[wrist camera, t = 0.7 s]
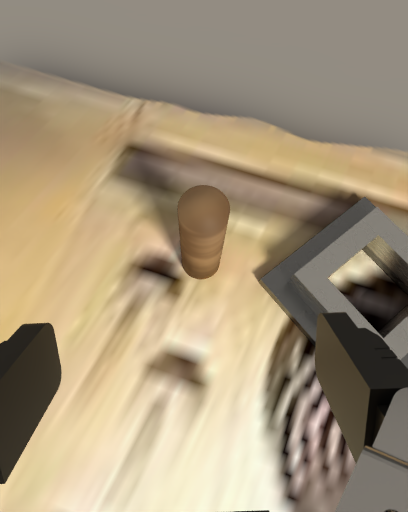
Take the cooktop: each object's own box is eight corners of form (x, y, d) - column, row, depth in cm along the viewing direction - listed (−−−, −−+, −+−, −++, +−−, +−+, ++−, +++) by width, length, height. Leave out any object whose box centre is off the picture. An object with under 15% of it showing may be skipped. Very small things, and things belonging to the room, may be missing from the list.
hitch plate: (258, 282, 36) (265, 270, 33) (360, 201, 39) (375, 183, 36) (367, 407, 32) (386, 408, 29) (469, 306, 36) (497, 297, 32)
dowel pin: (174, 258, 36) (167, 203, 26) (203, 236, 37) (207, 176, 27) (197, 286, 36) (199, 242, 25) (227, 264, 36) (240, 212, 26)
